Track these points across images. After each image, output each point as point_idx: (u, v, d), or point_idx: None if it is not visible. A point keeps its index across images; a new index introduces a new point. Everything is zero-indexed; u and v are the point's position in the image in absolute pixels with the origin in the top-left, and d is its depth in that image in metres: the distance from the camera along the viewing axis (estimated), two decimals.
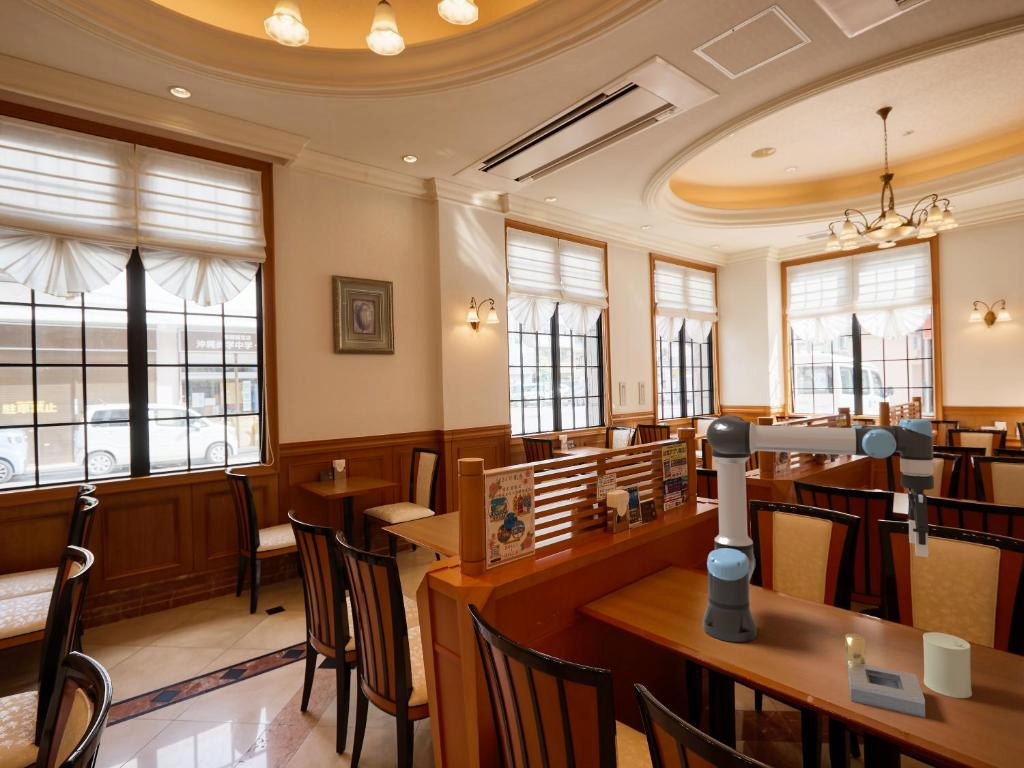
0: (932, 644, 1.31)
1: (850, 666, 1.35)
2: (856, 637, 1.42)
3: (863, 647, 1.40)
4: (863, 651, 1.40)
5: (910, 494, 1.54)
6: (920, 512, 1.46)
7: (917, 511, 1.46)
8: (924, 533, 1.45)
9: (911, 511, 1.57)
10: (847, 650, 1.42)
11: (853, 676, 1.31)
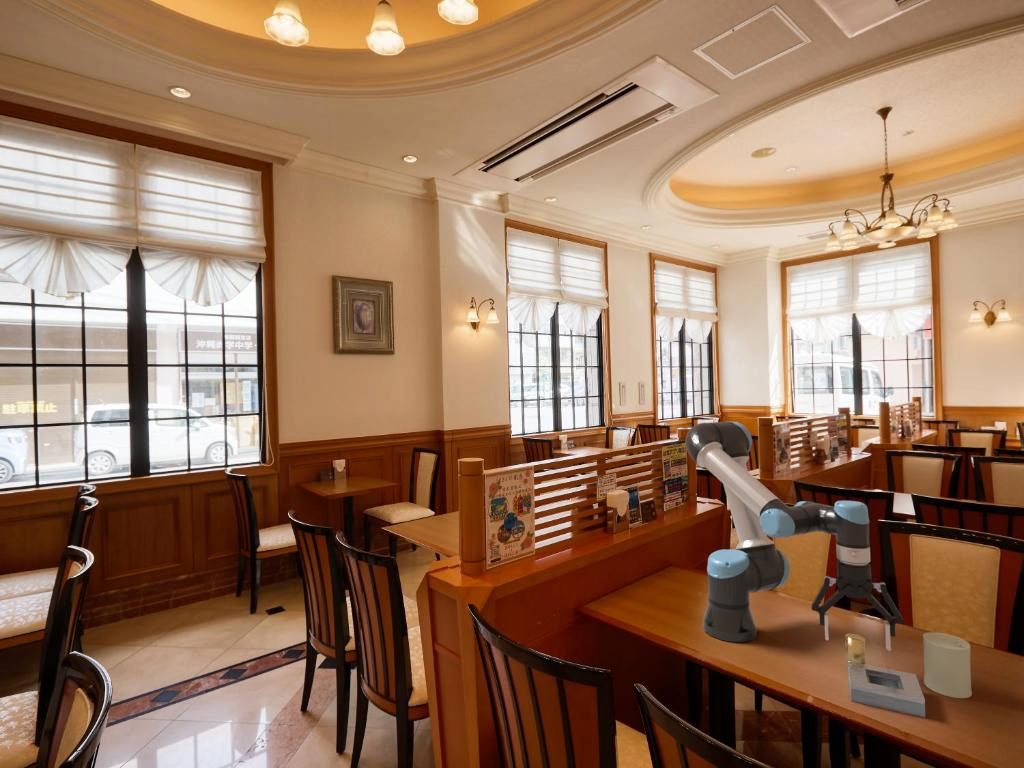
0: (932, 644, 1.31)
1: (850, 666, 1.35)
2: (856, 637, 1.42)
3: (863, 647, 1.40)
4: (863, 651, 1.40)
5: None
6: (819, 591, 1.46)
7: None
8: None
9: None
10: (847, 650, 1.42)
11: (853, 676, 1.31)
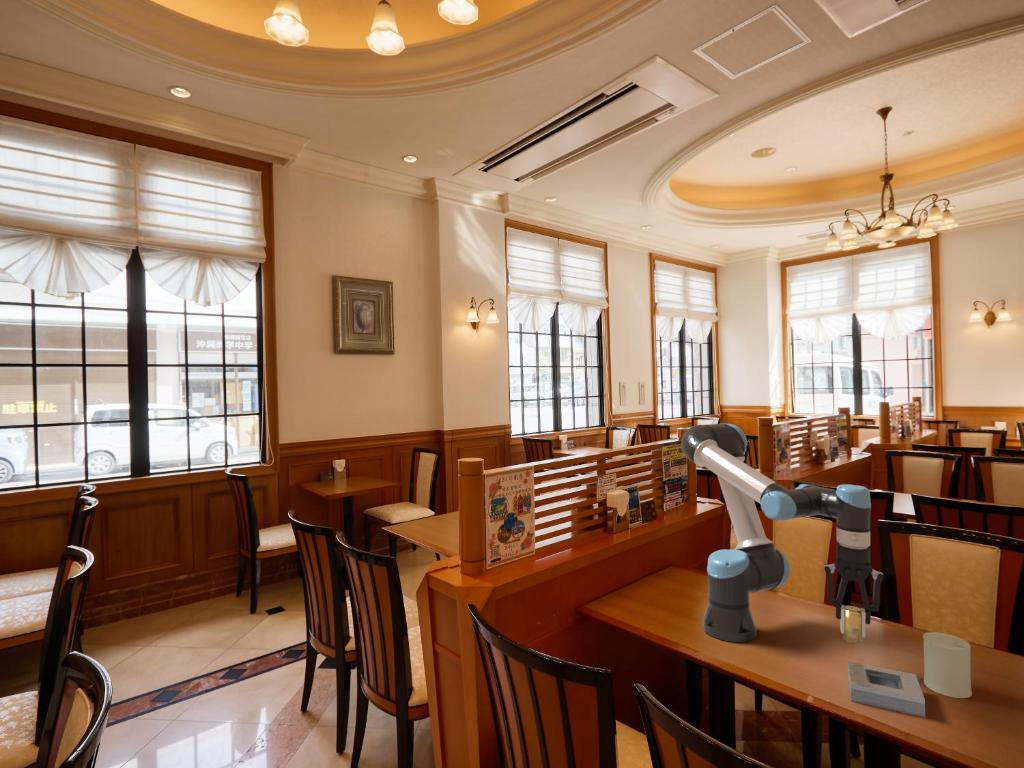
0: (932, 644, 1.31)
1: (850, 666, 1.35)
2: (854, 609, 1.43)
3: (861, 619, 1.41)
4: (861, 623, 1.41)
5: None
6: (827, 583, 1.46)
7: None
8: None
9: None
10: (845, 622, 1.42)
11: (853, 676, 1.31)
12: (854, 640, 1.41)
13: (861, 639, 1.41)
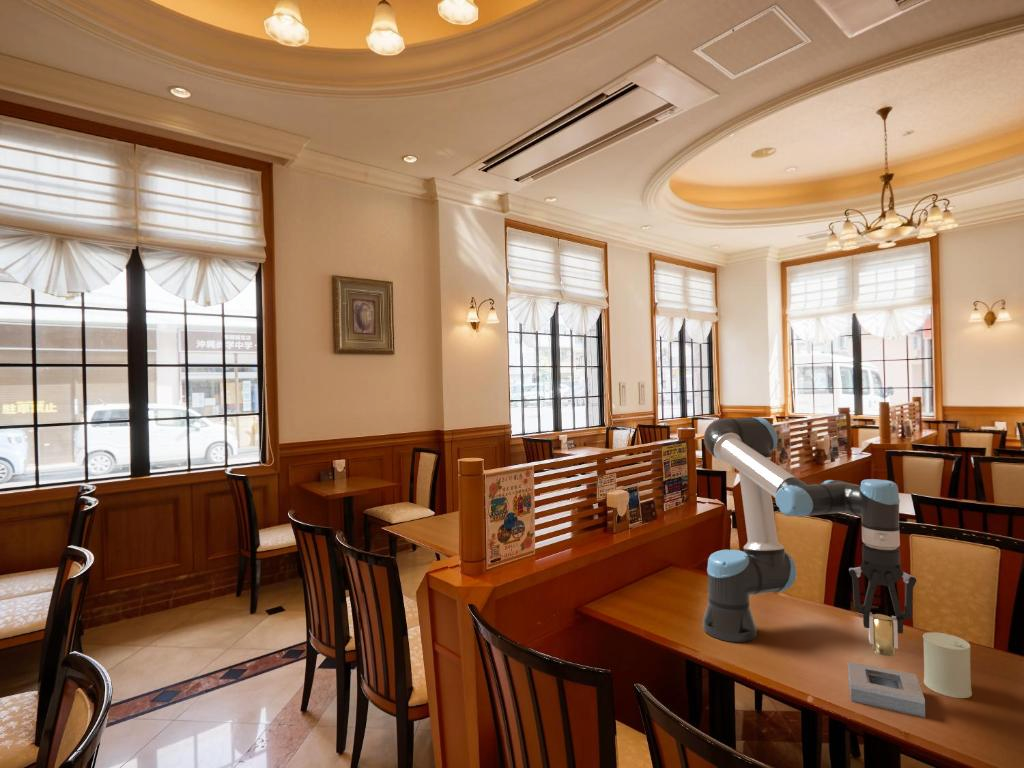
0: (932, 644, 1.31)
1: (850, 666, 1.35)
2: (883, 617, 1.29)
3: (892, 628, 1.27)
4: (892, 633, 1.27)
5: None
6: None
7: None
8: None
9: None
10: (874, 632, 1.29)
11: (853, 676, 1.31)
12: (886, 652, 1.27)
13: (893, 651, 1.27)
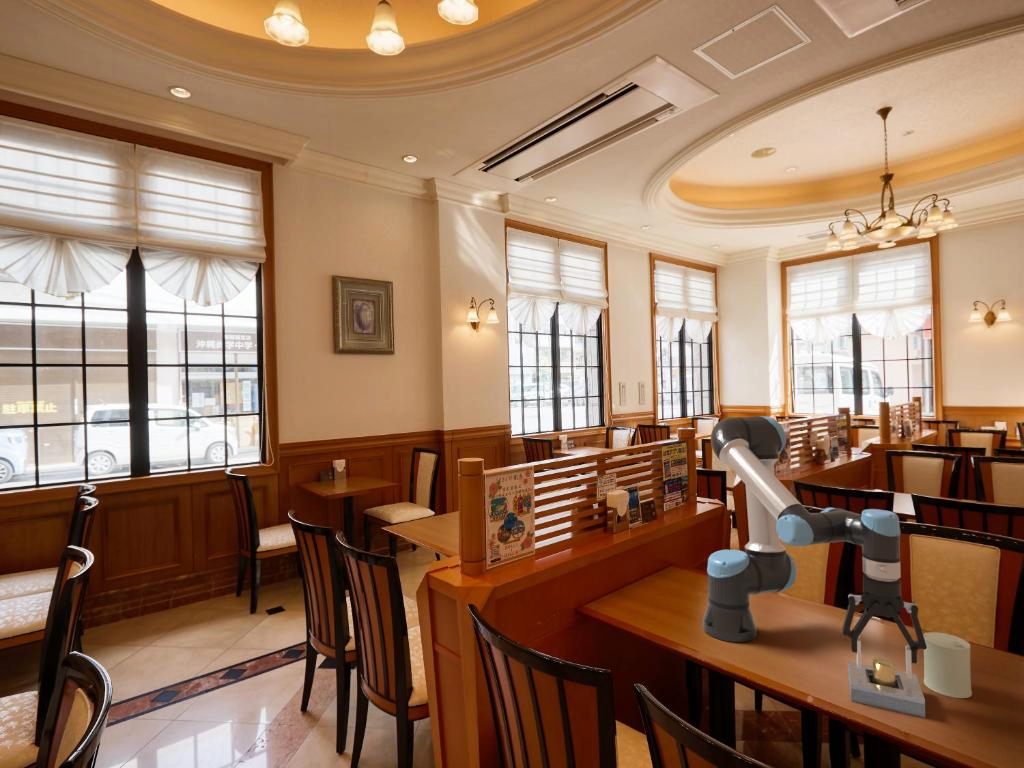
0: (932, 644, 1.31)
1: (850, 666, 1.35)
2: (885, 662, 1.29)
3: (893, 673, 1.27)
4: (894, 678, 1.27)
5: None
6: (847, 613, 1.33)
7: (847, 611, 1.34)
8: None
9: None
10: (875, 677, 1.29)
11: (853, 676, 1.31)
12: None
13: None
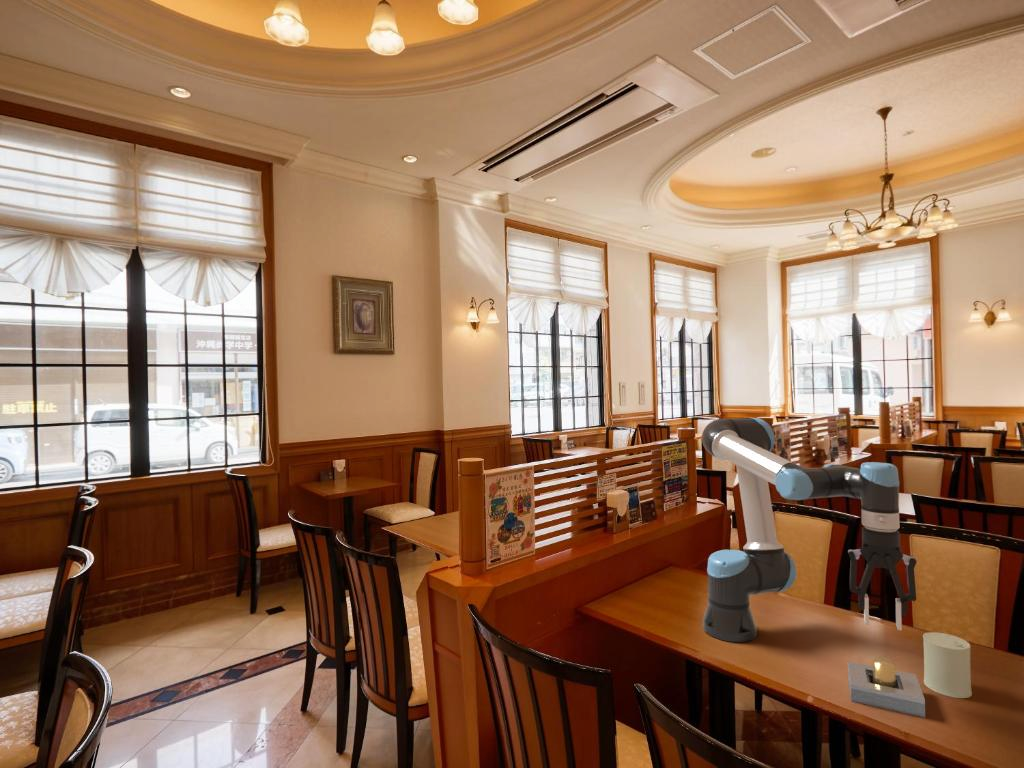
0: (932, 644, 1.31)
1: (850, 666, 1.35)
2: (885, 662, 1.29)
3: (893, 673, 1.27)
4: (894, 678, 1.27)
5: None
6: (850, 569, 1.33)
7: (850, 568, 1.33)
8: None
9: (894, 581, 1.29)
10: (875, 677, 1.29)
11: (853, 676, 1.31)
12: None
13: None
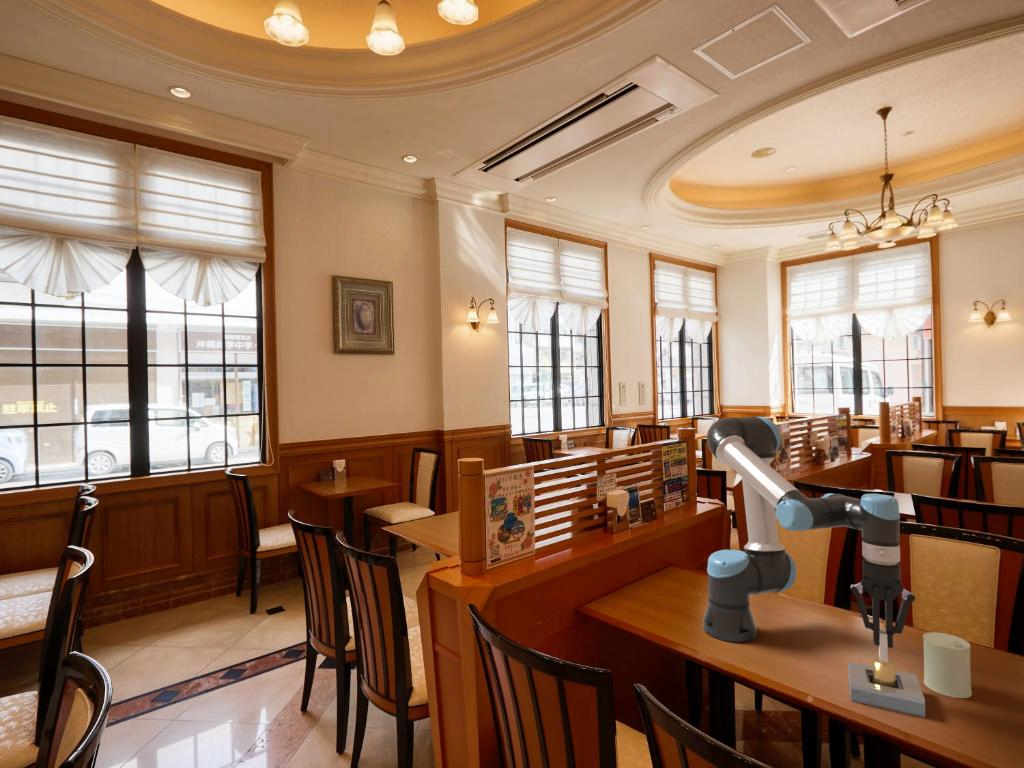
0: (932, 644, 1.31)
1: (850, 666, 1.35)
2: (885, 662, 1.29)
3: (893, 674, 1.27)
4: (894, 678, 1.27)
5: None
6: None
7: None
8: None
9: (885, 613, 1.30)
10: (875, 677, 1.29)
11: (853, 676, 1.31)
12: None
13: None
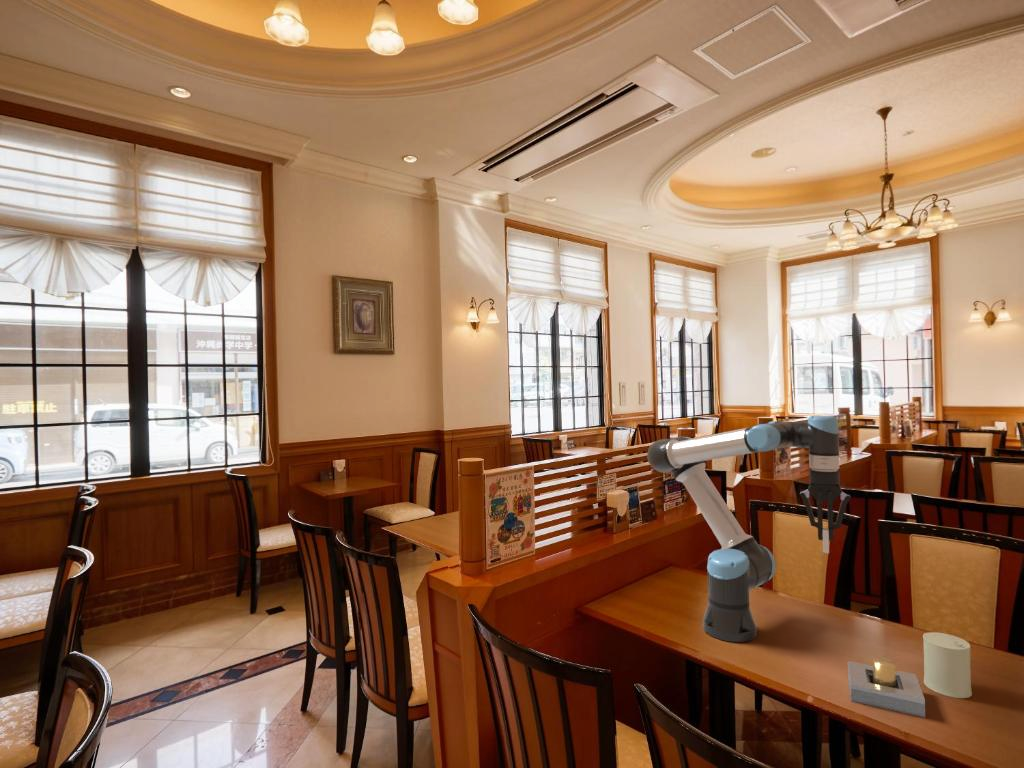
0: (932, 644, 1.31)
1: (850, 666, 1.35)
2: (885, 662, 1.29)
3: (893, 674, 1.27)
4: (894, 678, 1.27)
5: None
6: None
7: None
8: (817, 528, 1.56)
9: None
10: (875, 677, 1.29)
11: (853, 676, 1.31)
12: None
13: None
